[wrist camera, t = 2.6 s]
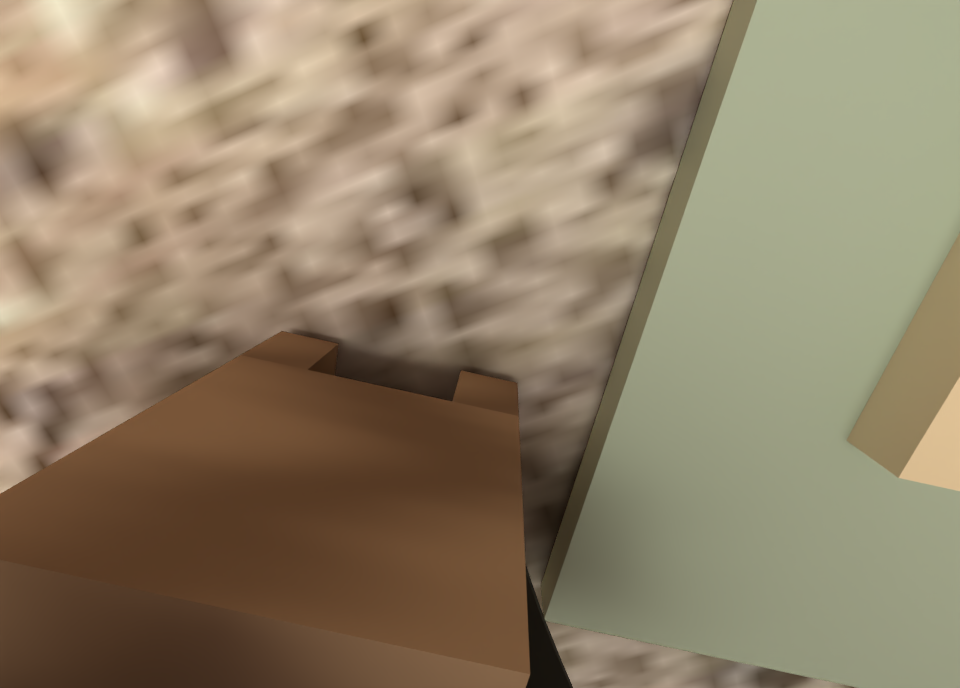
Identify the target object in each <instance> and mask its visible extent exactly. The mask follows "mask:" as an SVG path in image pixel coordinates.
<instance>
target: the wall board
mask: <svg viewBox="0 0 960 688" xmlns="http://www.w3.org/2000/svg"><path fill="white" fill-rule="evenodd" d="M541 595H542V606H543V616H544V618H545V621H547V622H552V623H557V624H561V625H566V626H571V627H576V628H580V629H585V630H590V631H594V632H599V633H604V634H608V635H613V636H618V637H622V638H627V639H632V640H637V641H641V642H646V643H651V644H655V645H660V646H665V647H669V648H674V649H679V650H683V651H688V652H693V653H698V654H702V655H707V656H712V657H716V658H721V659H726V660H730V661H735V662H740V663H745V664H749V665H754V666H759V667H763V668H768V669H773V670H777V671H782V672H787V673H791V674H796V675H801V676H806V677H810V678H815V679H820V680H824V681H829V682H834V683H838V684H843V685H848V686H852V687H857V688H960V0H734V1H733V4H732V7H731V10H730V13H729V16H728V19H727V22H726V25H725V28H724V31H723V34H722V37H721V40H720V43H719V46H718V49H717V52H716V56H715V59H714V62H713V65H712V68H711V71H710V74H709V77H708V80H707V83H706V86H705V89H704V92H703V95H702V98H701V101H700V104H699V107H698V110H697V113H696V116H695V119H694V122H693V125H692V128H691V131H690V134H689V137H688V140H687V143H686V146H685V149H684V153H683V156H682V159H681V162H680V165H679V168H678V171H677V174H676V177H675V180H674V183H673V186H672V189H671V192H670V195H669V198H668V201H667V204H666V207H665V210H664V213H663V216H662V219H661V222H660V225H659V228H658V231H657V234H656V237H655V240H654V243H653V247H652V250H651V253H650V256H649V259H648V262H647V265H646V268H645V271H644V274H643V277H642V280H641V283H640V286H639V289H638V292H637V295H636V298H635V301H634V304H633V307H632V310H631V313H630V316H629V319H628V322H627V325H626V328H625V331H624V334H623V337H622V340H621V344H620V347H619V350H618V353H617V356H616V359H615V362H614V365H613V368H612V371H611V374H610V377H609V380H608V383H607V386H606V389H605V392H604V395H603V398H602V401H601V404H600V407H599V410H598V413H597V416H596V419H595V422H594V425H593V428H592V431H591V434H590V437H589V441H588V444H587V447H586V450H585V453H584V456H583V459H582V462H581V465H580V468H579V471H578V474H577V477H576V480H575V483H574V486H573V489H572V492H571V495H570V498H569V501H568V504H567V507H566V510H565V513H564V516H563V519H562V522H561V525H560V528H559V531H558V534H557V538H556V541H555V544H554V547H553V550H552V553H551V556H550V559H549V562H548V565H547V568H546V571H545V574H544V577H543V580H542V583H541Z"/></svg>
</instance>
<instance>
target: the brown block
mask: <svg viewBox="0 0 960 688" xmlns="http://www.w3.org/2000/svg"><path fill="white" fill-rule="evenodd" d="M337 353H338V343H334V342H329V341H324V340H320V339H315V338H311V337H306V336H302V335H297V334H292V333H288V332H283V331H281V332H280V333H278V334H276V335H274V336H273V337H271V338H269V339H268V340H266V341H264V342H262V343H261V344H259V345H257V346H255V347H254V348H252V349H250V350H249V351H247V352H245V353H243V354H242V355H240V356H238V357H236V358H235V359H233V360H231V361H229V362H228V363H226V364H224V365H223V366H221V367H219V368H217V369H216V370H214V371H212V372H210V373H209V374H207V375H205V376H204V377H202V378H200V379H198V380H197V381H195V382H193V383H191V384H190V385H188V386H186V387H184V388H183V389H181V390H179V391H178V392H176V393H174V394H172V395H171V396H169V397H167V398H165V399H164V400H162V401H160V402H158V403H157V404H155V405H153V406H152V407H150V408H148V409H146V410H145V411H143V412H141V413H139V414H138V415H136V416H134V417H133V418H131V419H129V420H127V421H126V422H124V423H122V424H120V425H119V426H117V427H115V428H113V429H112V430H110V431H108V432H107V433H105V434H103V435H101V436H100V437H98V438H96V439H94V440H93V441H91V442H89V443H88V444H86V445H84V446H82V447H81V448H79V449H77V450H75V451H74V452H72V453H70V454H68V455H67V456H65V457H63V458H62V459H60V460H58V461H56V462H55V463H53V464H51V465H49V466H48V467H46V468H44V469H42V470H41V471H39V472H37V473H36V474H34V475H32V476H30V477H29V478H27V479H25V480H23V481H22V482H20V483H18V484H17V485H15V486H13V487H11V488H10V489H8V490H6V491H4V492H3V493H1V494H0V688H526V685H527V682H528V679H529V676H530V658H529V636H528V613H527V590H526V567H525V545H524V522H523V499H522V476H521V454H520V431H519V408H518V385H517V383H516V382H511V381H507V380H502V379H498V378H493V377H488V376H484V375H479V374H475V373H470V372H466V371H461V372H460V376H459V379H458V383H457V386H456V390H455V393H454V397H453V400H452V401H448V400H443V399H439V398H434V397H430V396H425V395H420V394H416V393H411V392H407V391H402V390H398V389H393V388H388V387H384V386H379V385H375V384H370V383H366V382H361V381H357V380H352V379H347V378H343V377H338V376H335V371H336V362H337Z"/></svg>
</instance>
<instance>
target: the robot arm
mask: <svg viewBox="0 0 960 688" xmlns="http://www.w3.org/2000/svg"><path fill="white" fill-rule="evenodd" d="M525 567H526V590H527V613H528V636H529V658H530V676H529V679H528V682H527V685H526V688H573V686H572V684H571V682H570V679H569V677H568V675H567V672H566V670H565V668H564V665H563V663H562V661H561V658H560V656H559V653H558V651H557V648H556V646H555V643H554V641H553V639H552V636H551V634H550V631H549V629H548V626H547V624H546V621H545V618H544V616H543V613H542V610H541V608H540V605H539V602H538V599H537V596H536V594H535V591H534V588H533V585H532V582H531V579H530V576H529V573H528V569H527V566H526V563H525Z"/></svg>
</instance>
